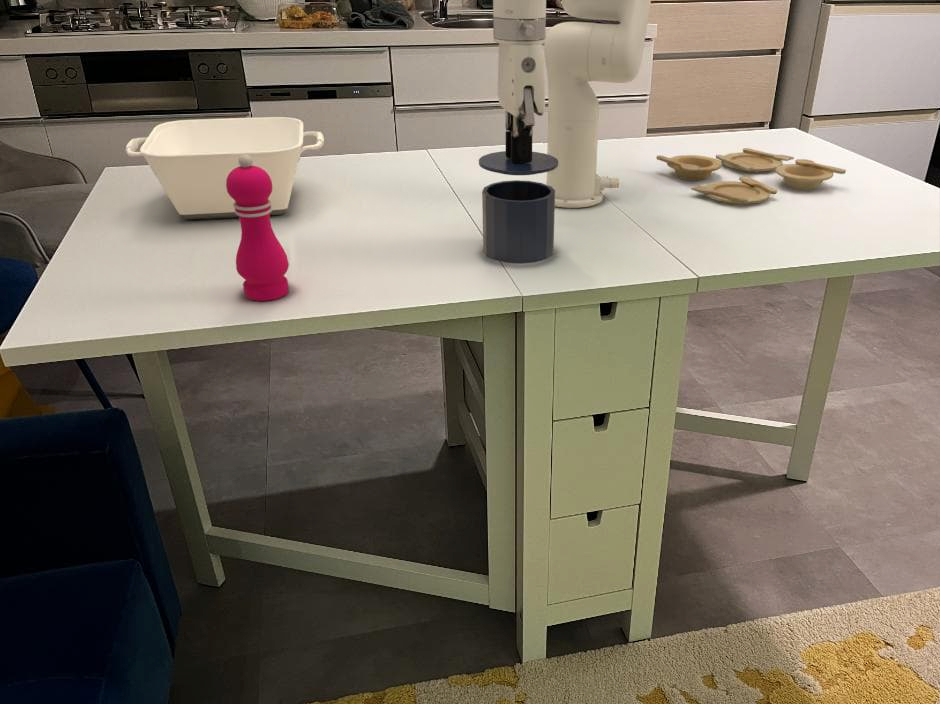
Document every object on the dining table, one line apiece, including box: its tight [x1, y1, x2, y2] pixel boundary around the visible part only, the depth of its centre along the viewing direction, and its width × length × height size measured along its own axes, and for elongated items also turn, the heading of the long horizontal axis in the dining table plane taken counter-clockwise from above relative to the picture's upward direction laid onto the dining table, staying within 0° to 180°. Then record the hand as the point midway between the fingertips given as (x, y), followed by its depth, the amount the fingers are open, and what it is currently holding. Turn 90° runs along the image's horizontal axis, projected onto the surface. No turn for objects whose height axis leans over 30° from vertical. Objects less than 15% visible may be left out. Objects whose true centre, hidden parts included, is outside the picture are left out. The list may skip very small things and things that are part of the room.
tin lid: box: [478, 130, 558, 176], centre depth 128 cm, size 12×12×6 cm
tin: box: [481, 179, 556, 265], centre depth 135 cm, size 11×11×10 cm
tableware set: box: [655, 147, 847, 205], centre depth 175 cm, size 35×29×4 cm
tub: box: [125, 116, 325, 220], centre depth 153 cm, size 34×27×13 cm
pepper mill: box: [226, 155, 290, 302], centre depth 117 cm, size 7×7×20 cm
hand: (518, 158), depth 129 cm, fingers closed on tin lid, 2 cm apart
